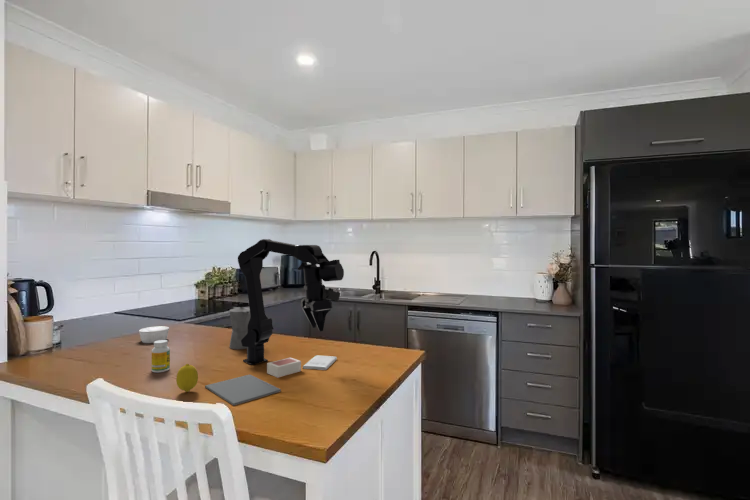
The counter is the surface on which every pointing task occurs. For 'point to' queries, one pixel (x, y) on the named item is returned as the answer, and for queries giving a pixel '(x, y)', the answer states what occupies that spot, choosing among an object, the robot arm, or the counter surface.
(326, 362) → the external hard drive
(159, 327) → the ramekin
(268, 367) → the card box
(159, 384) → the counter surface
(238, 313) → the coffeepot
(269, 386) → the mat
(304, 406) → the counter surface
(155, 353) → the supplement bottle
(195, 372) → the lemon
